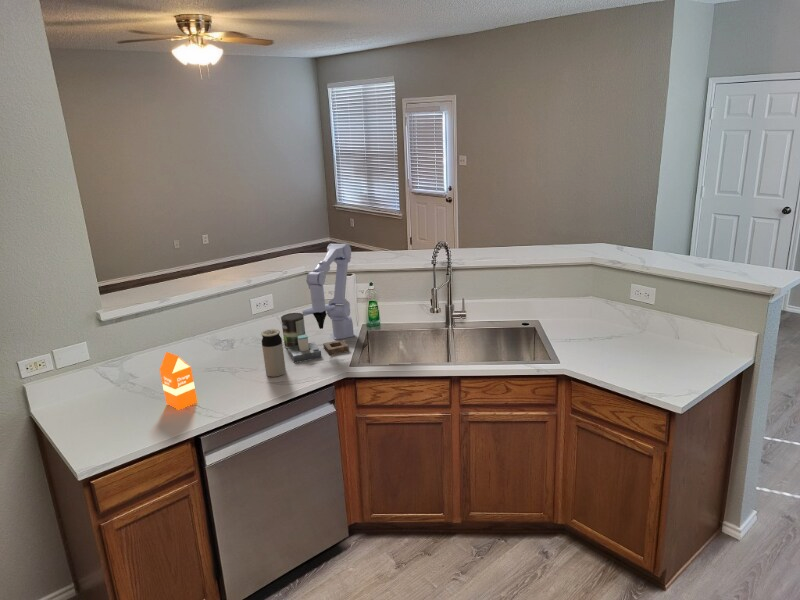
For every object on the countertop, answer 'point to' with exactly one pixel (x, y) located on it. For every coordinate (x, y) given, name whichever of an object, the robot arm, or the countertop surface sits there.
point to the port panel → (304, 353)
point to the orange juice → (177, 382)
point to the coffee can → (292, 328)
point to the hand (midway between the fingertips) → (321, 328)
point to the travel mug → (273, 353)
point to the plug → (303, 342)
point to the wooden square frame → (335, 347)
